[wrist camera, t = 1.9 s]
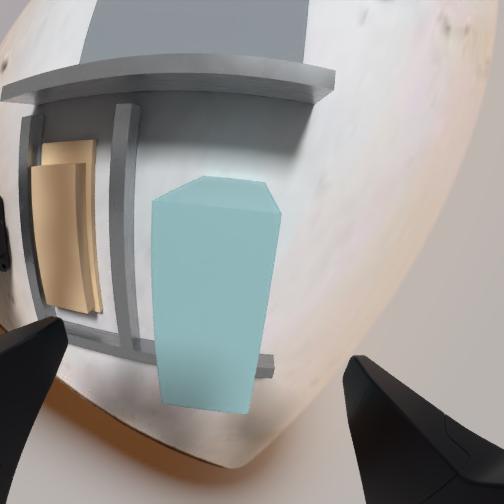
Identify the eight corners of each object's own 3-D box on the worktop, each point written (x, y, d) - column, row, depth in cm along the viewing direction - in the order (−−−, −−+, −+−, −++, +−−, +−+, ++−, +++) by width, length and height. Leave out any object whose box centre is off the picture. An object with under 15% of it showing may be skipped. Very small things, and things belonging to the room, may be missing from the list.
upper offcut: (54, 296, 18) (46, 304, 17) (42, 165, 15) (31, 166, 13) (95, 305, 18) (88, 313, 17) (85, 162, 15) (75, 164, 14)
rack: (50, 325, 19) (27, 351, 16) (38, 92, 13) (2, 86, 9) (270, 364, 20) (274, 403, 16) (316, 88, 14) (335, 70, 10)
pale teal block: (195, 299, 18) (162, 402, 10) (203, 175, 16) (152, 200, 7) (248, 305, 19) (248, 414, 10) (264, 182, 16) (281, 213, 7)
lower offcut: (61, 295, 19) (54, 302, 18) (52, 143, 15) (42, 143, 14) (106, 304, 19) (100, 312, 18) (102, 139, 15) (92, 139, 14)
